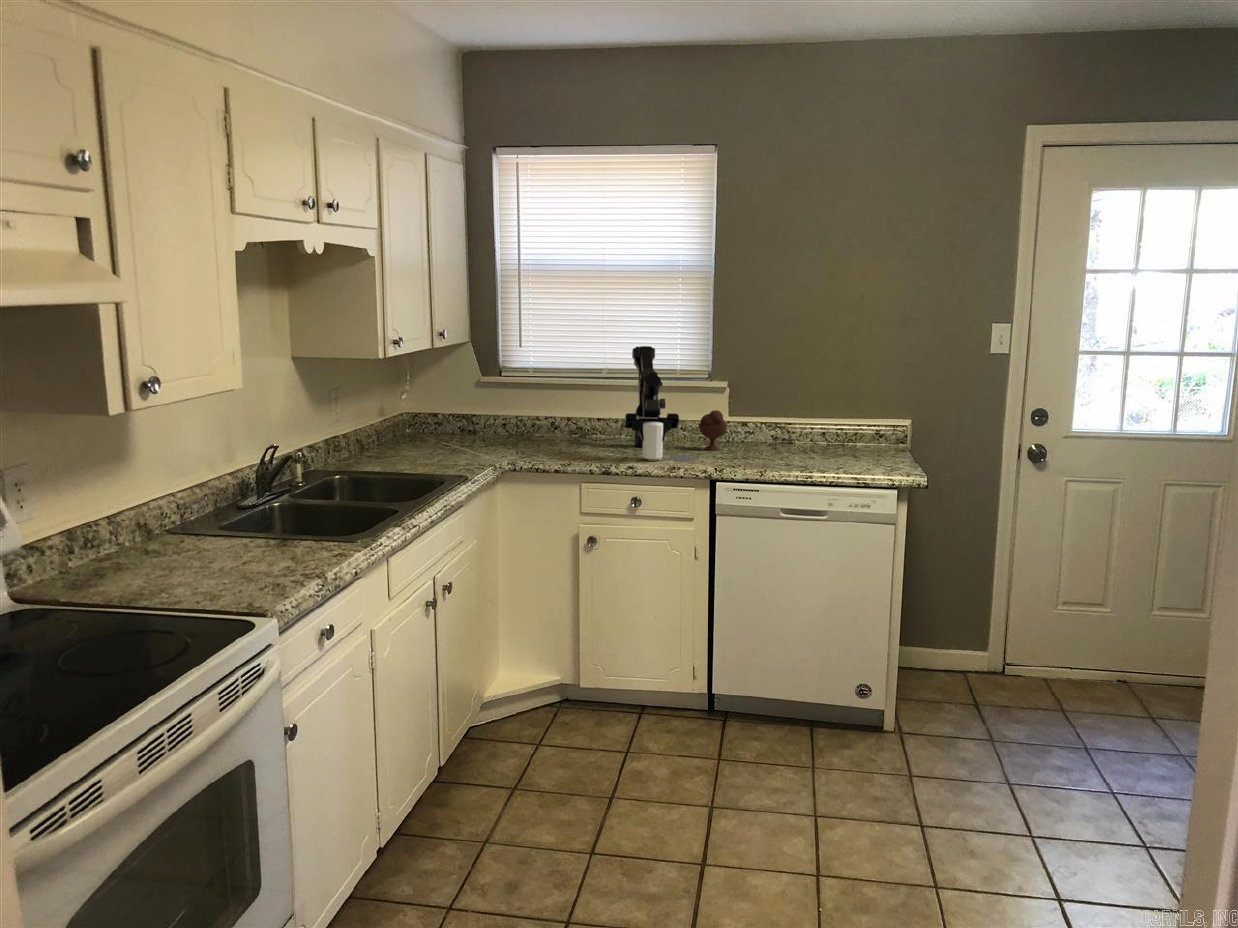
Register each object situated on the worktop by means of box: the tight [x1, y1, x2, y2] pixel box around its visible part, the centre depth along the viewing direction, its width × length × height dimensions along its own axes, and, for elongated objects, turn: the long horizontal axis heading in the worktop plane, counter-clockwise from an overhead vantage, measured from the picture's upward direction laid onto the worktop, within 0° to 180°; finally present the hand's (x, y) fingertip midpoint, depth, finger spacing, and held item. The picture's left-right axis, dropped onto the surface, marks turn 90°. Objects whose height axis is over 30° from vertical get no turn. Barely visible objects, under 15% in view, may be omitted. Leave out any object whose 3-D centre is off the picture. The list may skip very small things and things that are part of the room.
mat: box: [664, 454, 700, 463], centre depth 332 cm, size 9×9×1 cm
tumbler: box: [641, 422, 664, 460], centre depth 326 cm, size 7×7×12 cm
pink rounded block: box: [646, 458, 659, 462], centre depth 328 cm, size 4×4×2 cm
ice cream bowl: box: [698, 409, 728, 452], centre depth 352 cm, size 11×11×15 cm
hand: (653, 440), depth 325 cm, fingers closed on tumbler, 7 cm apart
